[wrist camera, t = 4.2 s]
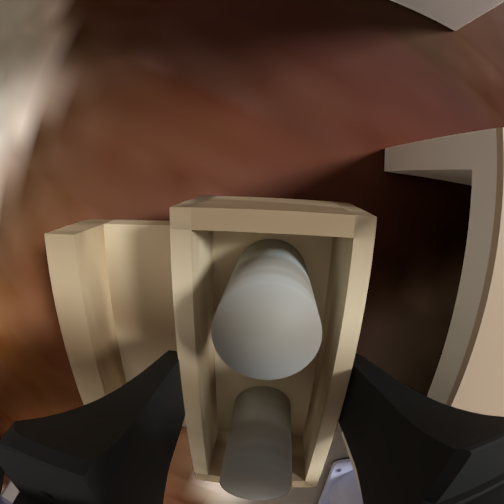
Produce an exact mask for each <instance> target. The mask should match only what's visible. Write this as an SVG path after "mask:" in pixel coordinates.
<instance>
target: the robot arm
mask: <svg viewBox="0 0 504 504" xmlns="http://www.w3.org/2000/svg"><path fill="white" fill-rule="evenodd" d="M184 418H185V407H184V400H183V392H182V383H181V374H180V365H179V360H178V353H177V351H172V350H168V351H167V352H166V353H165V354H163V355H162V356H161V357H160V358H159V359H157V360H156V361H155V362H154V363H153V364H151V365H150V366H149V367H148V368H146V369H145V370H144V371H142V372H141V373H140V374H139V375H137V376H136V377H134V378H133V379H131V380H130V381H129V382H127V383H126V384H124V385H123V386H121V387H120V388H118V389H116V390H115V391H113V392H111V393H109V394H108V395H106V396H104V397H102V398H100V399H98V400H96V401H93V402H91V403H88V404H86V405H83V406H81V407H78V408H76V409H73V410H70V411H67V412H63V413H60V414H56V415H52V416H48V417H43V418H37V419H30V420H22V421H15V422H14V423H13V425H12V426H11V427H10V428H9V429H8V431H7V432H6V433H5V434H4V436H3V437H2V438H1V439H0V466H1V468H2V469H3V470H4V472H5V473H6V475H7V476H8V477H9V479H10V480H11V481H12V483H13V484H14V485H15V487H16V488H17V489H18V490H19V493H18V495H17V496H16V498H15V500H14V501H13V502H11V501H9V500H7V499H6V498H4V497H2V496H1V494H0V504H163V498H164V492H165V486H166V480H167V475H168V470H169V466H170V462H171V459H172V456H173V453H174V449H175V446H176V443H177V440H178V437H179V434H180V431H181V428H182V424H183V421H184ZM339 423H340V426H341V428H342V431H343V434H344V437H345V439H346V442H347V444H348V447H349V450H350V452H351V455H352V458H353V461H354V464H355V467H356V470H357V474H358V479H359V484H360V488H361V492H360V489H359V486H358V482H357V479H356V476H355V473H354V470H353V467H352V464H351V461H350V459H344V460H338V461H335V462H334V463H333V464H332V467H331V470H330V472H329V475H328V478H327V481H326V483H325V486H324V489H323V491H322V494H321V496H320V499H319V501H318V504H504V417H501V416H491V415H484V414H479V413H474V412H469V411H465V410H462V409H458V408H455V407H452V406H449V405H446V404H443V403H441V402H438V401H436V400H433V399H431V398H429V397H427V396H425V395H422V394H421V393H419V392H417V391H415V390H413V389H411V388H410V387H408V386H406V385H404V384H403V383H401V382H399V381H398V380H396V379H395V378H393V377H392V376H390V375H389V374H387V373H386V372H384V371H383V370H381V369H380V368H379V367H377V366H376V365H374V364H373V363H371V362H370V361H369V360H367V359H366V358H364V357H363V356H361V355H359V354H358V353H356V354H355V358H354V363H353V367H352V371H351V375H350V379H349V383H348V387H347V391H346V395H345V399H344V402H343V406H342V410H341V413H340V417H339ZM361 494H362V495H361Z"/></svg>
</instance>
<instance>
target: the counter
mask: <svg viewBox="0 0 504 504" xmlns="http://www.w3.org/2000/svg"><path fill="white" fill-rule="evenodd" d="M384 172H392V173H399V174H406V175H413V176H420V177H426V178H432V179H438V180H444V181H449V182H455V183H460V184H465V185H470V186H472V189H471V204H470V216H469V226H468V234H467V242H466V249H465V256H464V262H463V268H462V274H461V279H460V284H459V289H458V294H457V298H456V303H455V307H454V311H453V315H452V319H451V323H450V327H449V331H448V334H447V338H446V341H445V345H444V348H443V351H442V355H441V358H440V361H439V364H438V367H437V370H436V373H435V376H434V378H433V381H432V384H431V387H430V389H429V392H428V395H427V397H429V398H431V399H433V400H436V401H438V402H441V403H443V404H446V405H449V406H452V407H455V408H458V409H462V410H465V411H469V412H474V413H479V414H484V415H491V416H501V417H504V128H503V127H502V128H494V129H487V130H481V131H474V132H468V133H462V134H456V135H450V136H445V137H439V138H434V139H428V140H423V141H418V142H413V143H408V144H403V145H398V146H394V147H389V148H385V164H384ZM341 434H342V437H343V440H344V443H345V446H346V449H347V452H348V455H349V458H350V461H351V464H352V467H353V470H354V473H355V476H356V479H357V482H358V486H359V489H360V492H361V488H360V484H359V479H358V474H357V470H356V467H355V464H354V461H353V458H352V455H351V452H350V450H349V447H348V444H347V442H346V439H345V437H344V434H343V431H342V432H341ZM361 495H362V494H361Z"/></svg>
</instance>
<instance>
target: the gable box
mask: <svg viewBox="0 0 504 504" xmlns="http://www.w3.org/2000/svg"><path fill="white" fill-rule="evenodd" d="M391 1H393V2H396V3H398V4H400V5H403V6H405V7H407V8H410V9H412V10H414V11H416V12H418V13H421V14H423V15H425V16H427V17H429V18H431V19H433V20H435V21H437V22H439V23H441V24H443V25H445V26H446V27H448V28H450V29H452V30H454V31H456V30H458V29H460V28H461V27H463V26H464V25H466V24H468V23H469V22H471V21H473V20H474V19H476V18H477V17H479V16H481V15H482V14H484V13H486V12H487V11H489V10H491V9H493V8H494V7H496V6H498V5H499V4H501V3H503V2H504V0H391Z"/></svg>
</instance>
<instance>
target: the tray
mask: <svg viewBox="0 0 504 504" xmlns="http://www.w3.org/2000/svg"><path fill="white" fill-rule="evenodd" d="M376 223H377V217H376V216H374V215H372V214H370V213H368V212H366V211H364V210H362V209H360V208H358V207H356V206H354V205H352V204H350V203H347V202H333V201H319V200H303V199H285V198H264V197H237V196H199V197H196V198H193V199H190V200H188V201H185V202H182V203H179V204H177V205H174V206H171V207H170V221H159V220H103V219H87V220H84V221H81V222H78V223H74V224H71V225H68V226H65V227H62V228H60V229H57V230H54V231H51V232H48V233H45V243H46V252H47V259H48V266H49V273H50V279H51V285H52V291H53V296H54V301H55V306H56V311H57V316H58V320H59V324H60V329H61V333H62V337H63V341H64V344H65V348H66V352H67V355H68V359H69V362H70V366H71V369H72V372H73V375H74V378H75V381H76V385H77V387H78V390H79V393H80V396H81V399H82V402H83V404H84V405H86V404H88V403H91V402H93V401H96V400H98V399H100V398H102V397H104V396H106V395H108V394H109V393H111V392H113V391H115V390H116V389H118V388H120V387H121V386H123V385H124V384H126V383H127V382H129V381H130V380H131V379H133V378H134V377H136V376H137V375H139V374H140V373H141V372H142V371H144V370H145V369H146V368H148V367H149V366H150V365H151V364H153V363H154V362H155V361H156V360H157V359H159V358H160V357H161V356H162V355H163V354H165V353H166V352H167V351H168V350H172V351H177V353H178V360H179V365H180V374H181V383H182V392H183V400H184V407H185V418H184V421H183V424H182V426H184V427H187V432H188V438H189V444H190V450H191V456H192V462H193V467H194V473H195V478H196V479H198V480H204V481H211V482H219V483H220V485H221V487H222V488H223V489H224V490H225V491H227V492H228V493H230V494H232V495H234V496H237V497H240V498H244V499H249V500H269V499H274V498H277V497H280V496H283V495H284V494H286V493H287V492H288V491H289V490H290V489H291V487H316V486H317V483H318V481H319V478H320V475H321V472H322V470H323V467H324V464H325V461H326V458H327V455H328V452H329V449H330V446H331V443H332V440H333V437H334V433H335V430H336V427H337V423H338V420H339V417H340V413H341V410H342V406H343V402H344V399H345V395H346V391H347V387H348V383H349V379H350V375H351V371H352V367H353V363H354V358H355V354H356V349H357V345H358V340H359V335H360V330H361V325H362V320H363V314H364V309H365V303H366V297H367V291H368V285H369V279H370V272H371V265H372V258H373V250H374V241H375V233H376Z"/></svg>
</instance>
